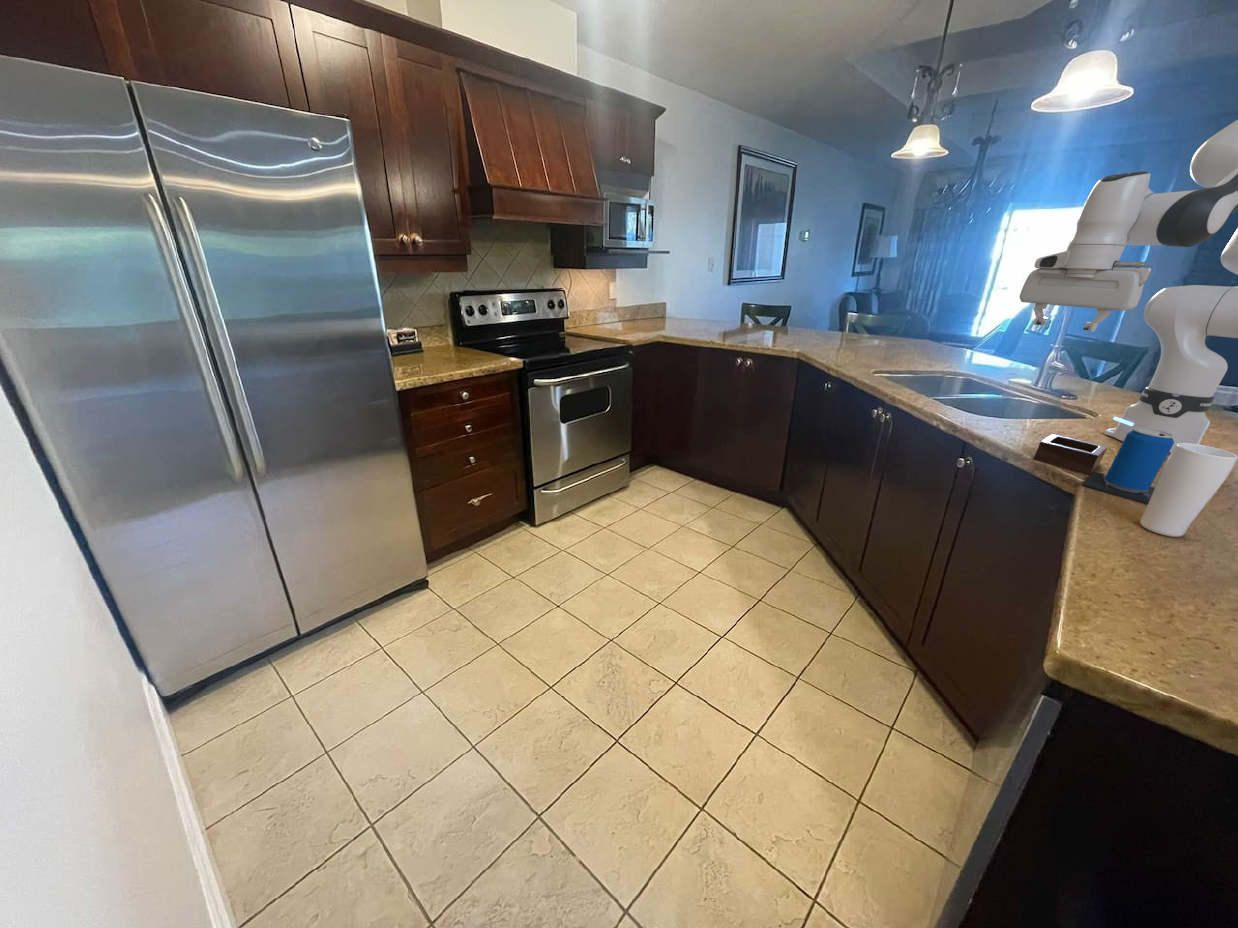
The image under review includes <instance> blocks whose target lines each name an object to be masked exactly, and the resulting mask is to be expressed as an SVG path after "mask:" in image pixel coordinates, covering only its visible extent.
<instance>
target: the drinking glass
mask: <svg viewBox="0 0 1238 928" xmlns="http://www.w3.org/2000/svg"><path fill="white" fill-rule="evenodd" d="M1237 460H1238V455H1237V454H1236V453H1233V452H1231V451H1228V450H1225V449H1223V448H1219V447H1214V446H1209V445H1205V444H1201V445H1199V444H1193V443H1178V444H1176V446H1175V447H1174V449H1173V451H1172V452H1171V453H1169V454H1168V456H1167V458H1166V460H1165V462H1164V464H1163V466H1162V469H1161V472H1160V474H1159V476H1158V478H1157V481H1156V483H1155V486H1154V491H1153V493H1152V496H1151V498H1150V501H1149V503H1148V504H1146V505H1147V506H1146V508H1145V510H1144V512H1143V514H1142V516H1141V518H1140V520H1139V524H1140V525H1141V527H1143V528H1144V529H1146V530H1148V531H1150V532H1152V533H1155V534H1158V535H1162V536H1166V537H1173V538H1179V537H1182V536H1184V535H1185V534H1186V532H1187V531H1188V529H1189V527H1190V526H1191V525H1192V523H1193V522H1194V521H1195V519H1196V518H1197V517H1198V516H1199V514H1200V513H1201V511H1202V510H1203V509H1204V508H1205V507H1206V505H1207V504H1208V503H1209V501H1210V500H1211V499H1212V497H1214V495H1215V494H1216V493H1217V491H1218V490H1219V489H1220V488H1221V486H1222V485H1223V484H1224V482H1225V481H1226V479H1227V478H1228V477H1229V475H1230V473H1231V471H1232V470H1233V468H1234V466H1235V464H1236V462H1237Z"/></svg>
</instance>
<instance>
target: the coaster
mask: <svg viewBox="0 0 1238 928" xmlns="http://www.w3.org/2000/svg"><path fill="white" fill-rule="evenodd" d="M1106 475H1107V474H1104V473H1101V472H1098V471H1097V472H1096V471H1093V472H1092V474H1090V476H1089V477H1088V478H1087V480H1085V481H1084V482H1083V483H1082V485H1081V486H1082V487H1085V488H1087V489H1088V488H1089V489H1093V490H1096V491H1100V492H1103V493H1107V494H1110V495H1114V496H1116V497H1120V498H1124V499H1127V500H1131V501H1134V502H1138V503H1141V504H1145V505H1148V503H1149V501H1150V498H1151V496H1152V493H1153V491H1154V488H1155V486H1154V487H1153V486H1150V488H1149V490H1147V491H1142V492H1140V493H1135V492H1128V491H1124V490H1120V489H1117V488H1115V487H1112V486H1110V485H1109V484H1108V482H1107V481H1106V480H1105V477H1106Z"/></svg>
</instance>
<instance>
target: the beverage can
mask: <svg viewBox="0 0 1238 928" xmlns="http://www.w3.org/2000/svg"><path fill="white" fill-rule="evenodd" d="M1173 437H1174V435H1172V434H1170V433H1167V432H1163V431H1159V430H1155V429H1149V428H1140V427H1135V428H1133V430H1132V431H1130V432H1129V433H1127V435H1126V437H1125V439H1124V441H1122V443H1121V445H1120V447H1119V449H1118V451H1117V453H1116V455H1115V456H1114V459H1113V461H1112V463H1111V464H1110V467H1109V468H1108V471H1107V473H1106V474H1105V475H1106V477H1105V480H1106V481H1107V482H1108V484H1109V485H1110V486H1112V487H1115V488H1117V489H1120V490H1124V491H1128V492H1135V493H1140V492H1142V491H1147V490H1149V488H1150V487H1152V484H1153V483H1154V481H1155V479H1156V478H1157V476H1158V473H1159V472H1160V470H1161V468H1162V467H1163V465H1164V464H1165V462H1166V460H1167V458H1168V456H1169V454H1170V450H1171V448H1172V446H1173V444H1174V440H1173Z"/></svg>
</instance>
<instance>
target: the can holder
mask: <svg viewBox="0 0 1238 928" xmlns="http://www.w3.org/2000/svg"><path fill="white" fill-rule="evenodd" d="M1107 450H1108V446H1106V445H1102V444H1098V443H1093V442H1090V441H1085V440H1080V439H1076V438H1072V437H1067V436H1063V435H1060V434H1059V435H1058V434H1054V433H1052V434H1049V435H1048V436H1047V437H1045V438H1044V439H1042V440H1041V441H1040V442H1039V445H1038V446H1037V448H1036V451H1035V454H1034V455H1033V459H1032V460H1035V461H1038V462H1041V463H1045V464H1049V465H1051V466H1052V465H1053V466H1057V467H1059V468H1064V469H1067V470H1071V471H1075V472H1077V473H1078V472H1079V473H1082V474H1086V475H1091V473H1093V472H1094V471H1095V469H1096V468H1097V467H1099V466H1100V464H1101V462H1102V460H1103V457H1104V456H1105V453H1106V451H1107Z"/></svg>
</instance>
